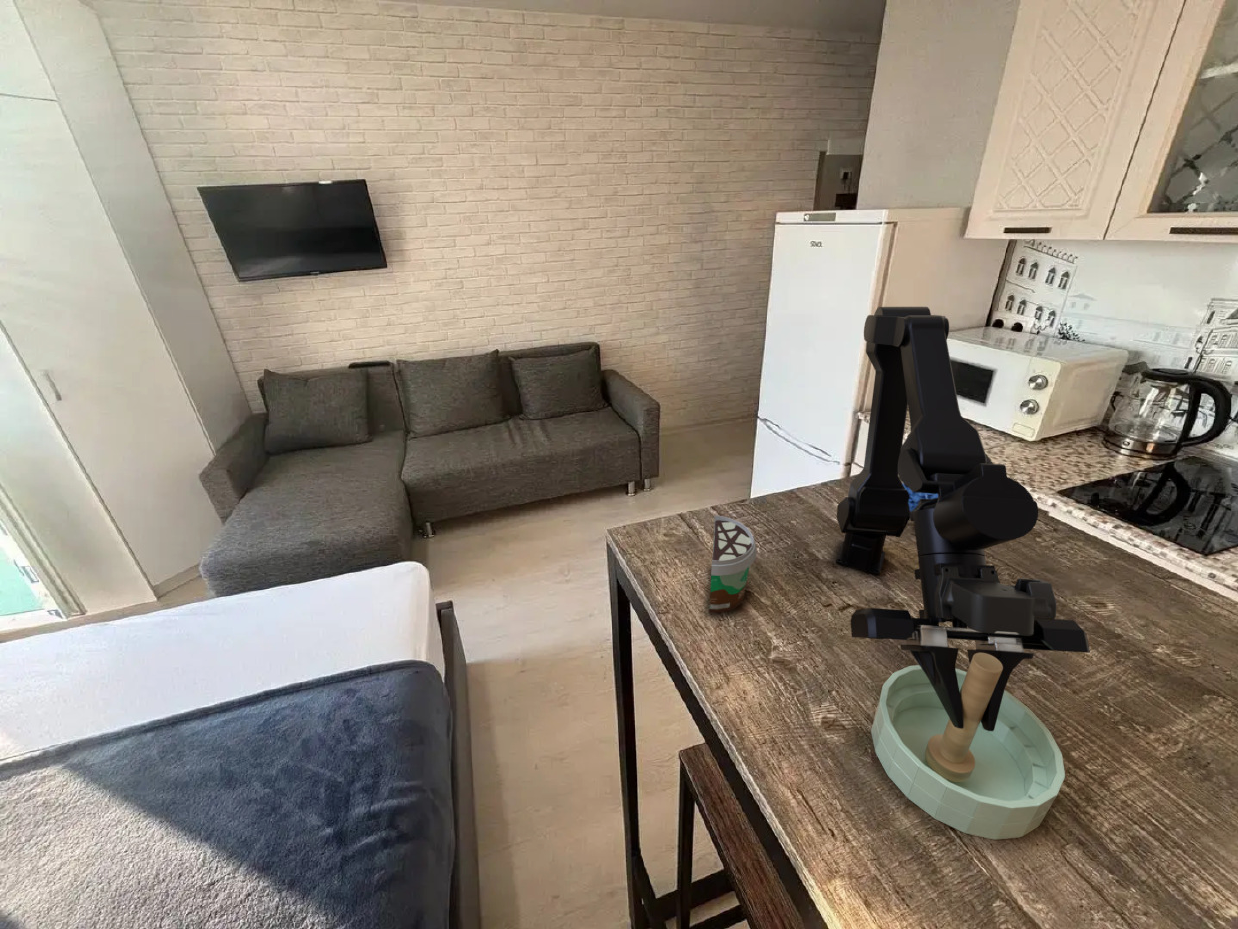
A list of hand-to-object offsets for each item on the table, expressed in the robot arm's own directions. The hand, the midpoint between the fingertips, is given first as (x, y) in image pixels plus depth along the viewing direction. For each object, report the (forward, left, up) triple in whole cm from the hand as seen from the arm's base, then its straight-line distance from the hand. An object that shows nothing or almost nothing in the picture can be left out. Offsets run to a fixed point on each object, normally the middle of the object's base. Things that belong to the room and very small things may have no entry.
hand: (973, 729), depth 47 cm
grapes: (-47, -6, -9) cm, 48 cm away
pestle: (-1, -1, -7) cm, 7 cm away
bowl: (-3, 0, -9) cm, 9 cm away
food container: (-16, -29, -9) cm, 34 cm away
